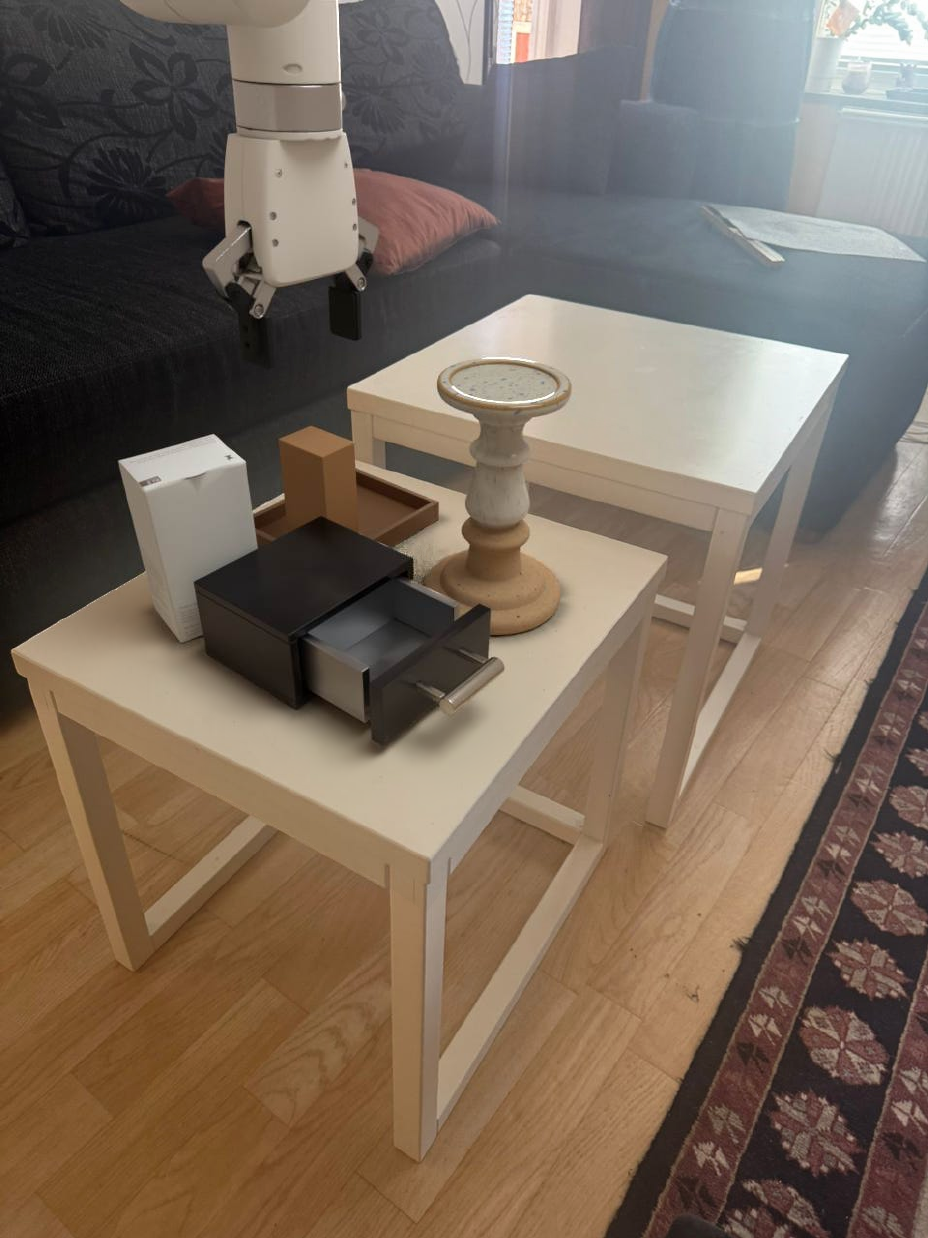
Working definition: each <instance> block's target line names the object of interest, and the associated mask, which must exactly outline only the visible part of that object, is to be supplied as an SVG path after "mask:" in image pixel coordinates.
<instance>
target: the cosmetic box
mask: <svg viewBox="0 0 928 1238" xmlns="http://www.w3.org/2000/svg"><path fill="white" fill-rule="evenodd" d="M117 463H118V468H119V472H120V476H121V479H122V484H123V489H124V491H125V496H126V501H127V504H128V508H129V512H130V515H131V519H132V523H133V527H134V530H135V534H136V538H137V542H138V546H139V550H140V554H141V558H142V562H143V566H144V571H145V575H146V578H147V581H148V586H149V589H150V593H151V598H152V602H153V606H154V610H155V611H156V612H157V613H158V615H159V616H160V617H161V619H162V620H163V621H164V623H165V624H166V625H167V626H168V628H169V629H170V631H171V632H172V634H173V635H174V636H175V638H176V639H177V640H178V641H179V643H181V644H183V643H186V642H189V641H191V640H193V639H196V638H198V637H200V636H203V631H202V626H201V621H200V615H199V610H198V604H197V599H196V594H195V588H194V581H196V580H198V579H200V578H202V577H204V576H206V575H208V574H210V573H211V572H213V571H215V570H217V569H219V568H221V567H223V566H225V565H227V564H229V563H231V562H233V561H235V560H237V559H238V558H240V557H242V556H244V555H246V554H248V553H250V552H252V551H254V550H256V549H258V546H257V540H256V533H255V525H254V518H253V514H254V511H253V506H252V500H251V492H250V486H249V479H248V472H247V461H246V460H245V459H243V458H242V457H241V456H239V455H238V454H237V453H236V452H235V451H234V450H232V449H231V448H230V447H229V446H227V444H226V443H224V442H223V441H222V440H221V439H220V438H219V437H218V436H217V435H215V434H214V433H212V434H209V435H205V436H203V437H199V438H195V439H192V440H189V441H188V440H187V441H185V442H182V443H178V444H174V445H171V446H168V447H164V448H160V449H157V450H153V451H150V452H149V451H148V452H145V453H142V454H139V455H135V456H131V457H127V458H123V459H119V460H118V461H117Z"/></svg>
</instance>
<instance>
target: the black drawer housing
mask: <svg viewBox="0 0 928 1238" xmlns="http://www.w3.org/2000/svg"><path fill="white" fill-rule="evenodd" d="M414 562H415V561H414V557H412V556H410V555H408V554H406V553H403V552H401V551H399V550H397V549H395V548H394V547H392V548H390V547H388V546H386V545H384V544H382V543H379V542H377V541H375V540H373V539H371V538H369V537H366V536H364V535H362V534H360V533H358V532H355V531H353V530H351V529H349V528H347V527H344V526H342V525H340V524H338V523H336V522H334V521H331V520H329V519H327V518H325V517H323V516H320V517H318V518H316V519H314V520H312V521H310V522H308V523H306V524H304V525H302V526H300V527H298V528H296V529H294V530H293V531H291V532H289V533H287V534H285V535H283V536H281V537H279V538H277V539H275V540H273V541H271V542H269V543H267V544H266V545H264V546H262V547H260V548H258V549H256V550H254V551H252V552H250V553H248V554H246V555H244V556H242V557H240V558H238V559H237V560H235V561H233V562H231V563H229V564H227V565H225V566H223V567H221V568H219V569H217V570H215V571H213V572H211V573H210V574H208V575H206V576H204V577H202V578H200V579H198V580H196V581H194V588H195V594H196V599H197V604H198V610H199V615H200V621H201V626H202V631H203V635H202V636H203V641H204V646H205V654H206V655H207V656H208V657H210V658H212V659H214V660H215V661H216V662H218V663H220V664H222V665H223V666H225V667H227V668H228V669H230V670H232V671H233V672H234V673H236V674H238V675H239V676H241V677H242V678H244V679H245V680H248V681H249V682H251V683H252V684H254V685H256V686H257V687H259V688H261V689H262V690H264V691H265V692H267V693H269V694H270V695H272V696H273V697H274V698H277V699H278V700H279V701H282V702H283V703H285V704H286V705H288V706H289V707H291V708H293V709H294V710H296V711H298V710H299V709H301V708H303V707H304V706H305V705H307V704H308V703H309V702H311V701H312V700H314V699H315V698H316V697H318V696H319V695H317V694H315V693H314V692H312V691H310V690H309V689H307V688H305V687H304V686H302V679H301V669H300V660H299V650H298V641H297V639H298V638H300V637H301V636H303V635H304V634H306V633H308V632H309V631H311V630H312V629H314V628H316V627H317V626H319V625H320V624H322V623H324V622H325V621H327V620H328V619H330V618H331V617H333V616H335V615H336V614H338V613H339V612H341V611H343V610H344V609H346V608H347V607H349V606H351V605H352V604H354V603H355V602H357V601H358V600H360V599H362V598H363V597H365V596H366V595H368V594H370V593H371V592H373V591H374V590H376V589H378V588H379V587H381V586H382V585H384V584H385V583H387V582H389V581H390V580H392V579H393V578H395V577H397V576H398V575H402V576H404V577H406V578H408V579H410V580H412V581H414V579H415V577H414V575H415V574H414V572H415V570H414V565H415V564H414ZM414 582H415V581H414Z"/></svg>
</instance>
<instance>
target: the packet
mask: <svg viewBox="0 0 928 1238" xmlns="http://www.w3.org/2000/svg"><path fill="white" fill-rule="evenodd" d="M278 449H279V459H280V465H281V479H282V487H283V497H284V499H285V507H286V516H287V526H288V533H289V532H291V531H293V530H294V529H296V528H298V527H300V526H302V525H304V524H306V523H308V522H310V521H312V520H314V519H316V518H318V517H320V516H323V517H325V518H327V519H329V520H331V521H334V522H336V523H338V524H340V525H342V526H344V527H347V528H349V529H351V530H353V531H355V532H358V533H359V531H358V511H357V490H356V469H355V468H356V453H355V451H356V450H355V442H354V441H352V440H349V439H346V438H343V437H342V436H338V435H336V434H333V433H331V432H328V431H326V430H323V429H321V428H318V427H315V426H313V425H310V426H306V427H305V428H302V429H300V430H297V431H295V432H293V433H290V434H287V435H286V436H283V437H281V438H279V439H278Z"/></svg>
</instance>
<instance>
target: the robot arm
mask: <svg viewBox="0 0 928 1238" xmlns="http://www.w3.org/2000/svg"><path fill="white" fill-rule="evenodd" d="M119 2H120V3H121V4H123V5H125V6H126V7H128V8H129V9H130V10H131V11H133V12H135V13H137V14H139V15H141V16H143V17H146V18H148V19H151V20H155V21H159V22H165V23H173V24H184V25H185V24H186V25H197V26H198V25H200V26H206V25H218V26H226V31H227V42H228V52H229V61H230V71H231V72H230V73H231V83H232V93H233V94H232V95H233V105H234V116H235V127H236V132H233V133H227V140H226V149H225V157H224V159H225V161H224V177H223V178H224V180H223V186H224V188H223V195H224V197H223V198H224V200H223V201H224V202H223V204H224V222H225V223H224V225H225V226H224V227H225V228H224V229H225V237H224V238H223V239H222V240H221V241H220V242H219V243H218V244H217V245H216V246H215V247H214V248H212V249H211V251H210V252H208V253H207V254H206V255H205V256H204V257H203V258H202V263H201V264H202V268H203V270H204V271H205V273H206V275H207V276H208V279H209V280H210V282H211V284H212V285H213V286H214V290H215V293H216V294H217V296H218V297H219V298H221V300H223V302H225V303H226V304H227V305H228V308H229V309H230V310H231V311H232V312H235V313H237V321H238V330H239V338H240V339H239V340H240V349H241V353H242V358H243V360H244V362H246V363H248V364H251V365H254V366H257V367H260V368H263V369H266V370H270V369H274V368H275V367H276V365H277V358H276V348H275V347H276V346H275V333H274V324H273V323H274V322H273V319H272V316H270V315H267V314H266V311H267V310H268V307H269V305H270V304H271V300H272V298H273V297H274V295H275V292H276V290H277V288H282V287H287V286H288V287H289V286H292V285H296V284H301V283H305V282H309V281H312V280H317V279H321V278H325V277H329V278H330V280H332V282H333V283H334V284H331V285H328V292H327V295H328V314H329V315H328V316H329V331H330V333H331V334H332V335H334V336H337V337H341V338H343V339H347V340H350V341H354V342H357V341H360V340H361V339H362V337H363V334H362V333H363V329H362V328H363V327H362V295H361V292H362V291H364V290H365V288H366V286H367V279H366V278H367V275H368V274H369V271H370V270H371V268H372V266H373V264H374V255H373V254H374V253H375V250H376V248H377V243H378V240H379V236H380V229H379V228H378V227H377V226H376V225H374V224H373V223H371V222H370V221H368V220H366V219H364V218H363V217H361V216H359V215H358V214H359V213H358V203H357V192H356V184H355V183H356V181H355V177H354V176H355V175H354V169H353V162H352V157H351V151H350V146H349V141H348V137H347V133H346V132H344V129H343V110H345V108H346V106H347V105H346V104H347V98H346V95H345V93H344V92H343V90H342V82H341V79H342V78H341V54H340V53H341V51H340V22H339V20H340V19H339V0H119ZM235 276H236V277H238V280H237V281H236V279H235ZM256 285H257V287H256ZM255 287H256V289H255ZM254 290H255V291H254ZM253 292H254V294H253V295H252V293H253Z"/></svg>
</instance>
